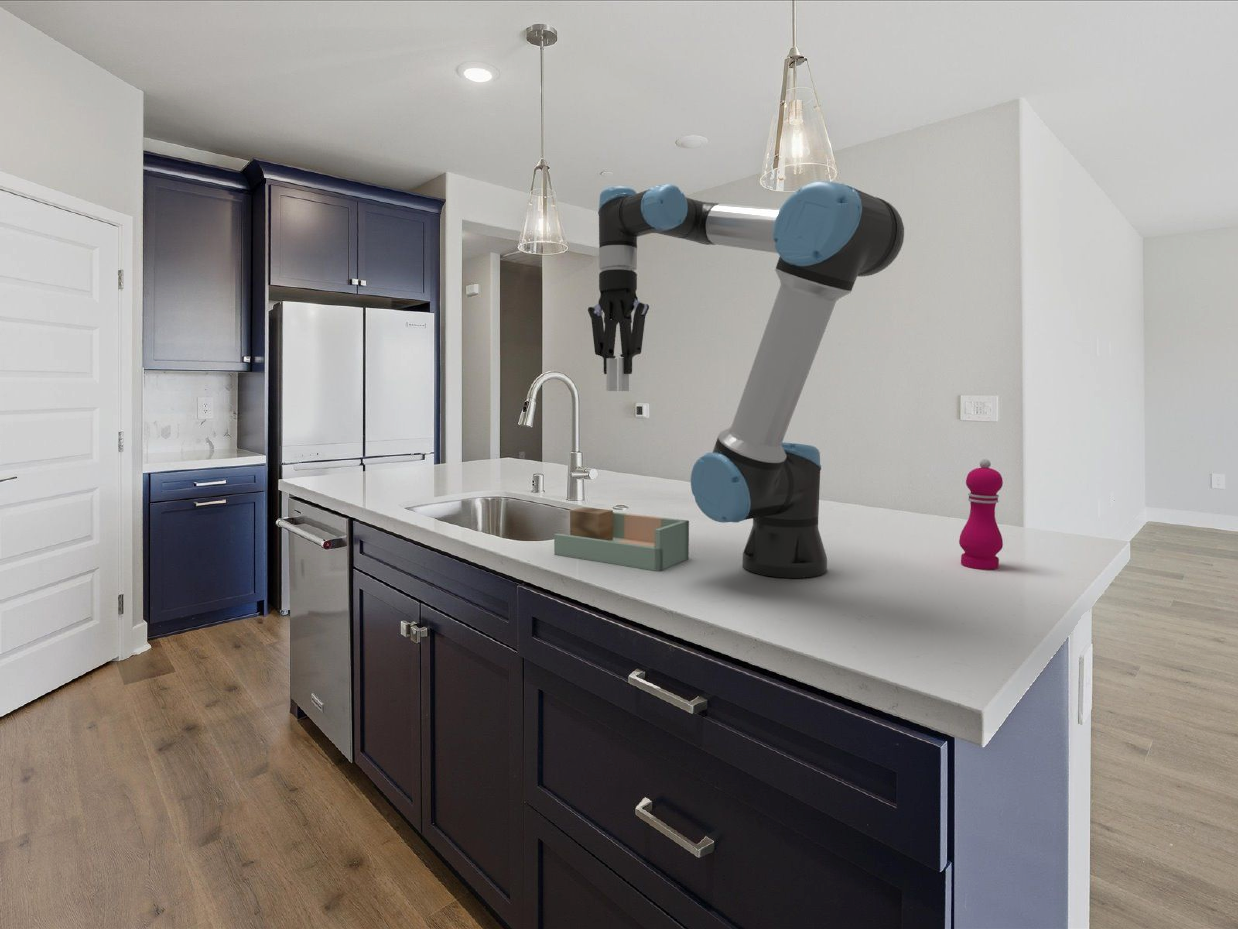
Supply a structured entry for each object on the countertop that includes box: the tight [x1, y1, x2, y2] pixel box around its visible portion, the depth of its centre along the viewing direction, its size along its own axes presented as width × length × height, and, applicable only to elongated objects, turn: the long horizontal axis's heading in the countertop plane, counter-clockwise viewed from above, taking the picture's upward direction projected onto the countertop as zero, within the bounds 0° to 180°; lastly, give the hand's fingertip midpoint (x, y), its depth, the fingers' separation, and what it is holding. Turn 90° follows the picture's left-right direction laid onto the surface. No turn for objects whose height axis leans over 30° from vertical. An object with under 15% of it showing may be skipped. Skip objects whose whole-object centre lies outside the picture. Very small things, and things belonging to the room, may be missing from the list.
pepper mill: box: [958, 458, 1004, 571], centre depth 127 cm, size 7×7×20 cm
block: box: [569, 506, 614, 541], centre depth 137 cm, size 7×5×6 cm
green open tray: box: [553, 511, 690, 572], centre depth 134 cm, size 24×12×8 cm, turn 57°
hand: (617, 390), depth 137 cm, fingers open, 2 cm apart
